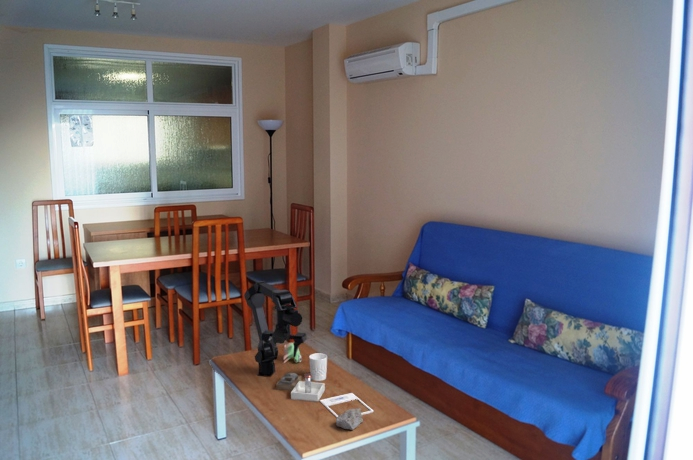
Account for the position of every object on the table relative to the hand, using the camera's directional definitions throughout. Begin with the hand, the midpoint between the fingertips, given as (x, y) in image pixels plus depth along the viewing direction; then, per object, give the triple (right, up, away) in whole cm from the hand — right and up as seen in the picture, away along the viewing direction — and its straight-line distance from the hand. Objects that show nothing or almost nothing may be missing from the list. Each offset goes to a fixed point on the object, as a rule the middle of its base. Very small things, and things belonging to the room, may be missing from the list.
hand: (284, 356), depth 239 cm
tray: (+11, -14, -7) cm, 19 cm away
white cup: (+14, -12, +9) cm, 21 cm away
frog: (+1, -9, +28) cm, 30 cm away
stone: (+28, -18, -33) cm, 47 cm away
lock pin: (+11, -14, -7) cm, 19 cm away
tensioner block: (+2, -13, +2) cm, 13 cm away
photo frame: (+26, -16, -18) cm, 36 cm away
